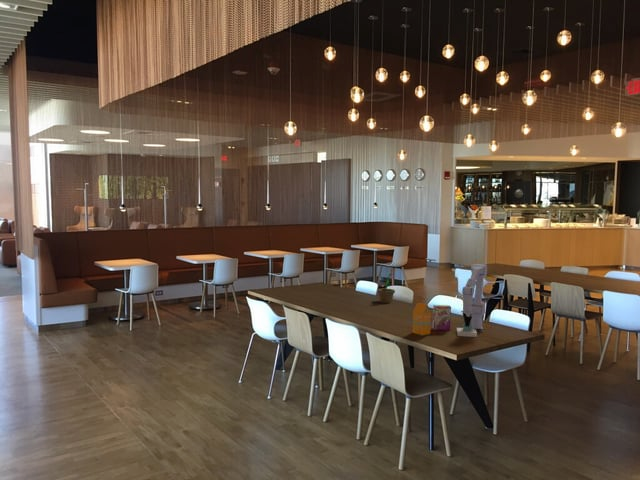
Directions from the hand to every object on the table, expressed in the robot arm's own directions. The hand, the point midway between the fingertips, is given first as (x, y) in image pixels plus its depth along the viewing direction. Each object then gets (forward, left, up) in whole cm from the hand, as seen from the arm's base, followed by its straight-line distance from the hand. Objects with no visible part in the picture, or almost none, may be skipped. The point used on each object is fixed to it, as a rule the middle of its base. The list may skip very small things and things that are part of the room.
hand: (466, 325), depth 342 cm
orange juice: (+6, -29, -6) cm, 30 cm away
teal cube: (0, 0, -3) cm, 4 cm away
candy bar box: (-8, -16, -6) cm, 19 cm away
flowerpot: (-95, -60, -6) cm, 113 cm away
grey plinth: (0, 0, -6) cm, 6 cm away
